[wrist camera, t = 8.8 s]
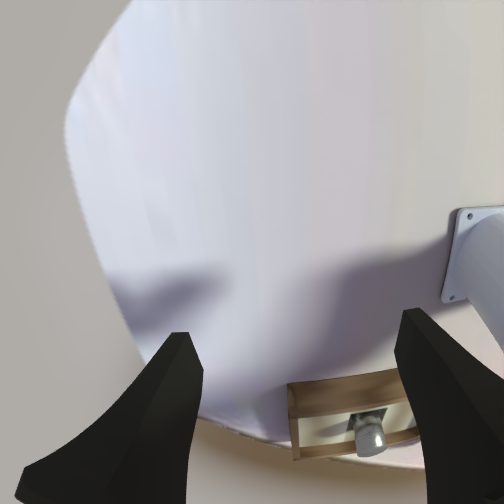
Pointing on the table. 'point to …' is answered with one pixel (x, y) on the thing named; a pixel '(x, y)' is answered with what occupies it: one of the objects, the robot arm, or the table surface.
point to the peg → (368, 433)
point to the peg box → (346, 413)
